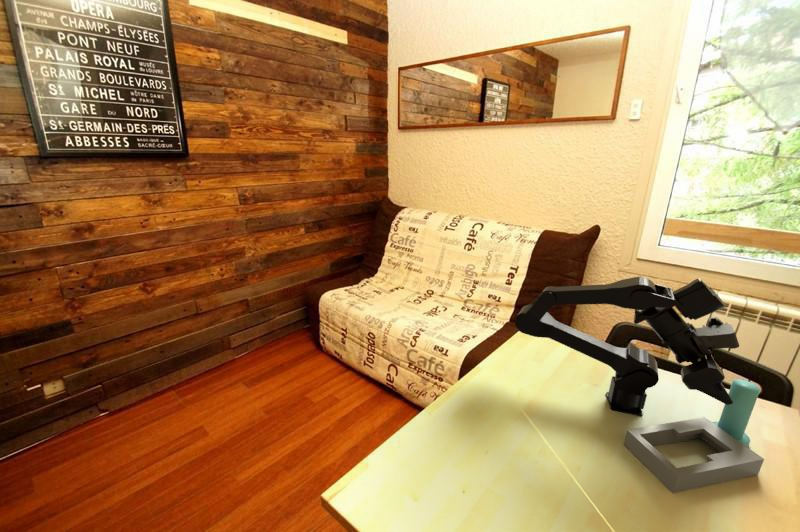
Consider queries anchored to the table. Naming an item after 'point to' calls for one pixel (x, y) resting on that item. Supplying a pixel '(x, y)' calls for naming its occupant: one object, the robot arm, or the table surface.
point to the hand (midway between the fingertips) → (725, 390)
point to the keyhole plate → (718, 469)
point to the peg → (739, 410)
